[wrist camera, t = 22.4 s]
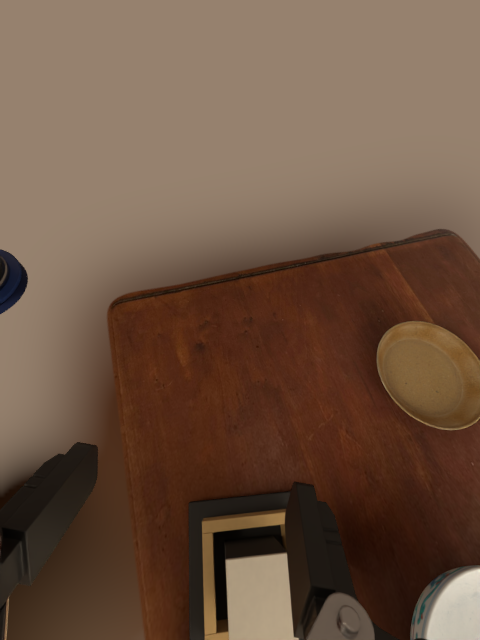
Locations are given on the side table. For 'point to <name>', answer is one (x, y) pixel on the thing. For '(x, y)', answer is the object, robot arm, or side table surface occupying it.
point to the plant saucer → (430, 374)
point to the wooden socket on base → (209, 552)
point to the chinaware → (449, 607)
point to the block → (258, 589)
